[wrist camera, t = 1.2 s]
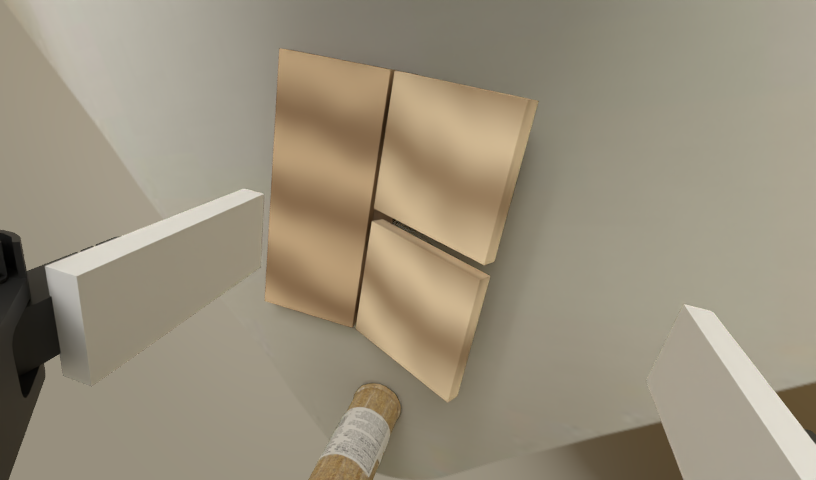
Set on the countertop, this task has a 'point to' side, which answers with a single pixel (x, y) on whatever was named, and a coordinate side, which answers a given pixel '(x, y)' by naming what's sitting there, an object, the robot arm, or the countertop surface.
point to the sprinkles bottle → (360, 436)
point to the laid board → (324, 182)
